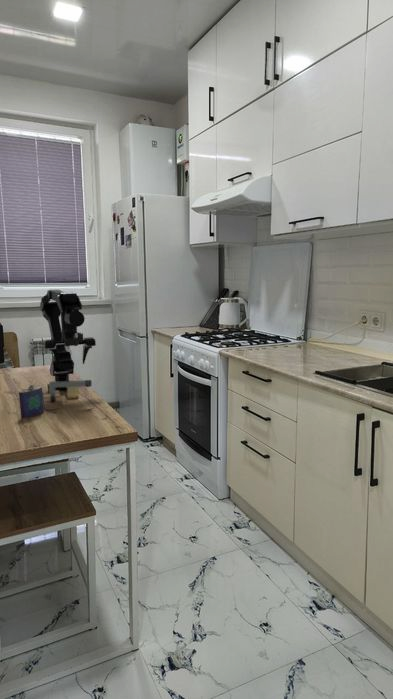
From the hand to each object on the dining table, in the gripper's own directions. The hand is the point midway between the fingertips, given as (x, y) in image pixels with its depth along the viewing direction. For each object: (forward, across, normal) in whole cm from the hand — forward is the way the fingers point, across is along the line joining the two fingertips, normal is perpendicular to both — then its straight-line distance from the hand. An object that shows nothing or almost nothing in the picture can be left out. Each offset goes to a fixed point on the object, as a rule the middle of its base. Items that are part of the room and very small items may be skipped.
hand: (71, 364), depth 176 cm
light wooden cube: (+13, 0, 0) cm, 13 cm away
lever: (+10, -2, -15) cm, 19 cm away
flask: (+13, -15, -21) cm, 29 cm away
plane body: (+12, -8, -6) cm, 16 cm away
